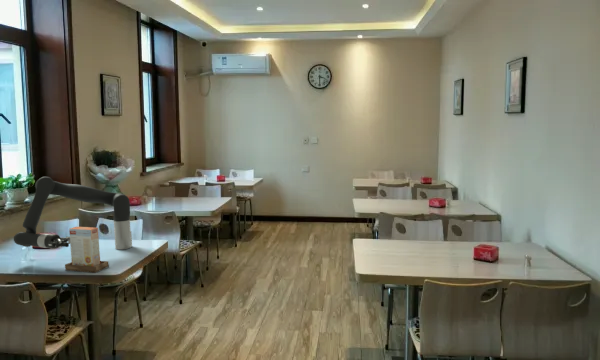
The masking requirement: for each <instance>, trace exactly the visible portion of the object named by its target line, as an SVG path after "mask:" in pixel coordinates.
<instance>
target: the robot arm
mask: <svg viewBox="0 0 600 360" xmlns="http://www.w3.org/2000/svg"><path fill="white" fill-rule="evenodd" d="M34 186H35V194H34V197H33V200H32V202H31V205H30V206H29V208H28V210H27V212H26V214H25V218H24V220H23V222H22V227H23V228H24V229H25V231H19V232H17V233H16V234H14V236H13V242H14V243H15V244H16V245H18V246H22V247H25V248H29V247H35V248H44V249H54V250H55V249H58V248H63V247H64V248H68V247H69V245H70V236H65V237H61V236H60V235H59V234H53V233H37V227H38V226H39V225H38V224H39V222H40V219H41V217H42V213H43V210H44V207H45V205H46V202H47V200H48V198H49V196H50V195H52V196H60V197H64V198H67V199H71V200H75V201H79V202H84V203H89V204H92V203H93V204H103V205H104V204H105V205H108V206H111V207H113V228H114V229H113V231H114V245H115V246H114V248H115V249H116V250H128V249H131V248H132V247H133V241H132V240H133V237H132V235H133V234H132V231H131V219H130V217H131V205H130V204H131V202H130V197H128V196H127V195H126V194H124V193H120V192H111V191H110V192H109V191H105V190H102V189H99V188H95V187H92V186H86V185H82V184H74V183H73V184H72V183H63V182H59V181H55V180H53V179H52V178H51V177H50V176H42V177H40V178H39V179H37V180H36V182H35V185H34Z"/></svg>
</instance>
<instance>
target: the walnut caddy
mask: <svg viewBox="0 0 600 360" xmlns="http://www.w3.org/2000/svg"><path fill="white" fill-rule="evenodd" d="M64 268H65V269H64V270H65V271H70V272H81V273H82V272H83V273H92V274H93V273H95V274H96V273H98V272H100V271H103V270H105V269H107V268H109V261H107V260H100V265H97V266H95V267H94V266H81V265H72V261H71V262H68V263H66V264H64Z"/></svg>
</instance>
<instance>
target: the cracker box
mask: <svg viewBox="0 0 600 360" xmlns="http://www.w3.org/2000/svg"><path fill="white" fill-rule="evenodd" d="M68 230H69V231H68V232H69V237H70V244H69V245H70V260H71V262H72V265H81V266H94V267H95V266H97V265H100V261H101V253H100V238H99V227H92V226H91V227H90V226H73V227H70V228H69V229H68Z"/></svg>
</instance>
